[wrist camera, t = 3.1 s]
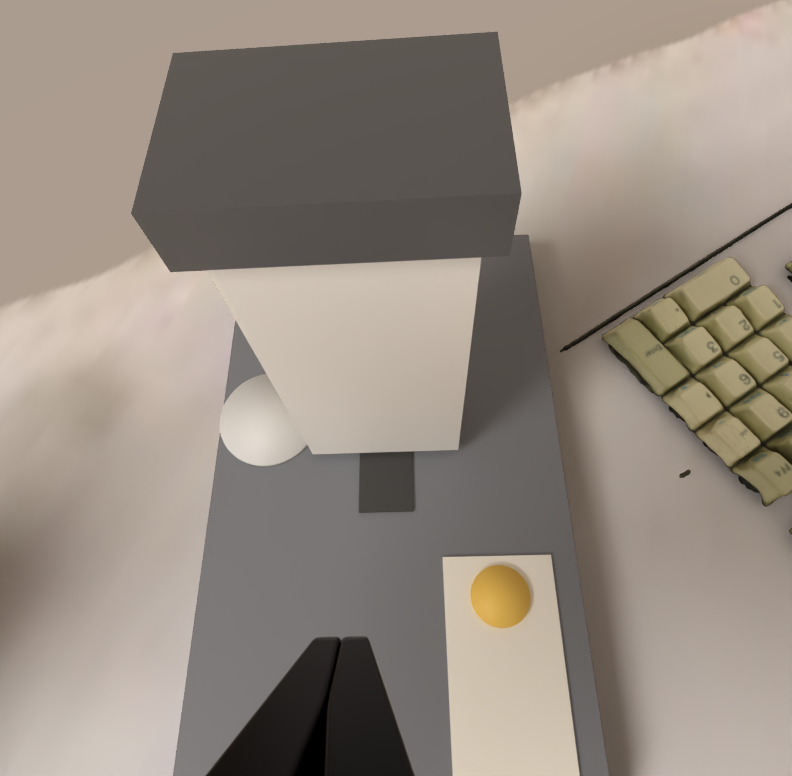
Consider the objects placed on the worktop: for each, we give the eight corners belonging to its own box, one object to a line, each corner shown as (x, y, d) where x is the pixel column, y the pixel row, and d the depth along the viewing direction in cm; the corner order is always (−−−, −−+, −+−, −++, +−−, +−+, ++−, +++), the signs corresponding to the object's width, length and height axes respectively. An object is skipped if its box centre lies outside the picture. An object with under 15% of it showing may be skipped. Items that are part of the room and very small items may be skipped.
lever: (470, 460, 19) (521, 193, 8) (300, 465, 19) (131, 213, 8) (463, 361, 21) (497, 32, 10) (307, 368, 21) (173, 52, 10)
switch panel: (601, 817, 16) (619, 834, 14) (187, 816, 16) (161, 833, 15) (521, 249, 25) (527, 221, 23) (256, 261, 25) (245, 235, 24)
